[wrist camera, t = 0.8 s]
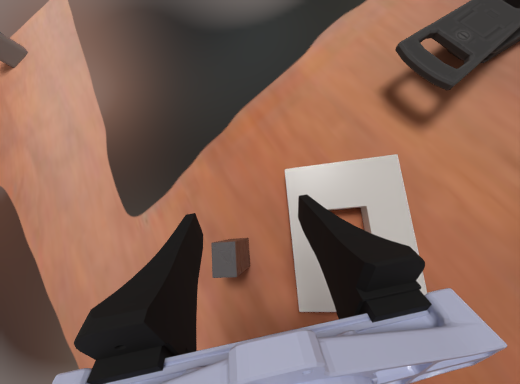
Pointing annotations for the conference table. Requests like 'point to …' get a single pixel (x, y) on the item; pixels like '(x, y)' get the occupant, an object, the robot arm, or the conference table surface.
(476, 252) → the conference table surface
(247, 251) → the gray rectangular block
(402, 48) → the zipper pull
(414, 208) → the conference table surface
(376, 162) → the block
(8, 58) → the power adapter
